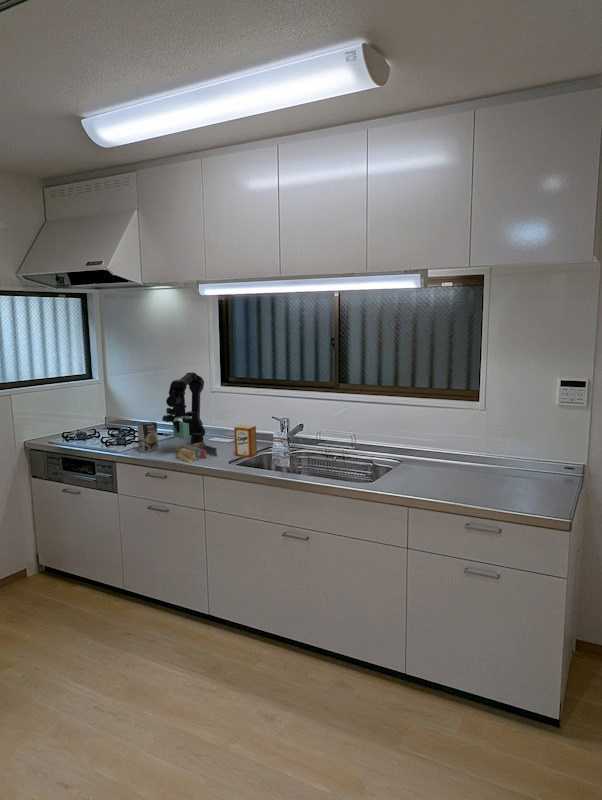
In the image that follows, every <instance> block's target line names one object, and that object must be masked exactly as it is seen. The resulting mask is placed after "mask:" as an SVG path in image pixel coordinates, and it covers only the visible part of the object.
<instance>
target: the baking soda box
mask: <svg viewBox="0 0 602 800" xmlns="http://www.w3.org/2000/svg"><path fill="white" fill-rule="evenodd" d="M257 448H258V447H257V426H256V425H247V424H245V425H243V424H241V425H240V424H239V425H238V426H235V427H234V449H235V450H234V452H235V457H240V458H241V457H244V458H253V457H255V456H257V455H258V453H257V452H258V450H257Z"/></svg>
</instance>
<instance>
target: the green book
mask: <svg viewBox="0 0 602 800" xmlns="http://www.w3.org/2000/svg"><path fill="white" fill-rule="evenodd" d="M178 421H179V433H177V431H176V428H175V426H174V424H173V423H172V431H173V437H175V438H177V439H178V438H179V439H182V440H187V439H191V436H189V424H188V423H184V422H183V421H180V420H178Z"/></svg>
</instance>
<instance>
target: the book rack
mask: <svg viewBox="0 0 602 800" xmlns="http://www.w3.org/2000/svg"><path fill="white" fill-rule="evenodd" d="M204 444H205V441H203V442H200V443H195V444H191V443H190V444H187V445H183V446H177V447H176V448H175V449H176V451H175V452H176V459H177V458H179V459H178V460H180V459H182V460H181V461H183V460H185V461H184V462H186V461H188V462H187V463H189V462H190V463H193V462H192V461H194V462H196V461H195V460H198V461H200V460H199V459H203V460H205V459H204V458H208V457H207V455H208V454H210V455H209V456H212V455H213V456H212V457H217V456H218V453H217V447H214V446H210V445H206V444H205V445H204ZM206 453H207V454H206Z"/></svg>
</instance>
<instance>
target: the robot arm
mask: <svg viewBox="0 0 602 800" xmlns="http://www.w3.org/2000/svg"><path fill="white" fill-rule="evenodd" d="M204 386H205V380H204V379H203V378H202V376H199V374H197V373H196V372H187V373H186V374H185V375H183V376H182V377H181V378H179V379H175V380H173V381H171V382H170V385H169V390H168V395H169V396H168V397H167V398H166V401H165V402H166V405H167V406H168V407H167V408H165V409H166V411H165V412H166V415H163V416H162V419H161V420H162V422H166V423H170V422H171V423H172V425H173V424H174V426H175V428H176V431H177V433H179V421H180V420H178V419H182V422H184V423H188V424H189V437H190V444H195V443H200V442H204V436H205V435H206V429H205V428H204V426H203V422H202V418H201V417H200V416H201V393H202V392H203V390H204ZM187 387H188V389H189V390H190V392H191V411H186V409H187V405H186V403H185V402H186V399H185V395H186V389H187ZM204 445H206V444H205V443H204Z"/></svg>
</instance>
